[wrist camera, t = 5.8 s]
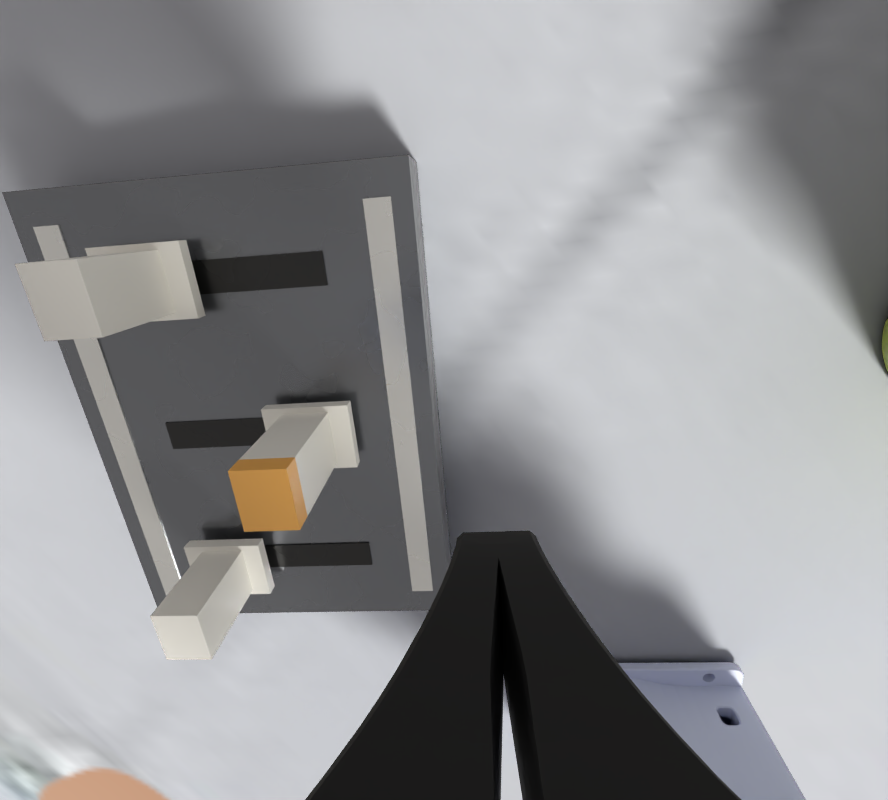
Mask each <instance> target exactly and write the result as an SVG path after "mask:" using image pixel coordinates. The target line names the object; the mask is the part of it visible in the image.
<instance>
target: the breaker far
mask: <svg viewBox="0 0 888 800" xmlns="http://www.w3.org/2000/svg"><path fill="white" fill-rule="evenodd" d="M184 550H185V553H186V556H187V559H188V562H189V565H190V567H189V569H188V570H187V571H186V572H185V574H184V575H183V576H182V577H181V579H180V580H179V581H178V582H177V584H176V585H175V586H174V587H173V588H172V590H171V591H170V592H169V593H168V595H167V596H166V597H165V598H164V600H163V601H162V602H161V603H160V605H159V606H158V607H157V608H156V610H155V611H154V612H153V613H152V615H151V616H150V617H151V620H152V622H153V625H154V627H155V630H156V633H157V635H158V638H159V640H160V643H161V646H162V648H163V651H164V653H165V656H166V659H167V660H202V659H213V657H214V655H215V653H216V652H217V650H218V648H219V647H220V645H221V643H222V642H223V640H224V638H225V636H226V635H227V633H228V631H229V630H230V628H231V626H232V624H233V623H234V621H235V619H236V618H237V616H238V614H239V613H240V611H241V609H242V607H243V606H244V604H245V602H246V601H247V599H248V597H249V595H250V594H271V592H272V590H273V588H274V587H275V585H274V581H273V577H272V573H271V569H270V565H269V562H268V558H267V554H266V550H265V546H264V542H263V538H261V539H226V540H191V541H189V542H188V543H187V544H186V545H185V547H184Z"/></svg>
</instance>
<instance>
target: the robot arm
mask: <svg viewBox="0 0 888 800" xmlns="http://www.w3.org/2000/svg"><path fill="white" fill-rule="evenodd" d="M503 674H504V680H505V687H506V694H507V700H508V707H509V713H510V720H511V726H512V733H513V739H514V746H515V752H516V759H517V765H518V772H519V778H520V785H521V791H522V798H523V800H806V799H805V797H804V796H803V794H802V792H801V790H800V789H799V787H798V785H797V783H796V782H795V780H794V778H793V776H792V774H791V773H790V771H789V769H788V767H787V766H786V764H785V762H784V760H783V759H782V757H781V755H780V753H779V752H778V750H777V748H776V746H775V745H774V743H773V741H772V739H771V738H770V736H769V734H768V732H767V731H766V729H765V727H764V725H763V723H762V722H761V720H760V718H759V716H758V715H757V713H756V711H755V709H754V708H753V706H752V704H751V702H750V701H749V699H748V697H747V695H746V694H745V692H744V690H743V688H742V682H743V678H744V674H743V672H742V670H741V668H740V667H739V666H738V665H737V664H735V663H731V662H691V663H617V661H616V660H615V659H614V657H613V656H612V655H611V653H610V652H609V651H608V650H607V648H606V647H605V646H604V644H603V643H602V642H601V640H600V639H599V638H598V636H597V635H596V634H595V632H594V631H593V630H592V628H591V627H590V625H589V624H588V622H587V621H586V620H585V618H584V617H583V615H582V614H581V612H580V611H579V609H578V608H577V606H576V605H575V604H574V602H573V601H572V599H571V598H570V596H569V595H568V593H567V592H566V590H565V589H564V587H563V585H562V584H561V582H560V581H559V579H558V577H557V576H556V574H555V572H554V571H553V569H552V567H551V566H550V564H549V562H548V560H547V558H546V557H545V555H544V553H543V551H542V549H541V547H540V545H539V543H538V541H537V538H536V536H535V535H534V534H533V533H532V532H530V531H505V532H471V533H462V534H461V535H460V536H459V537H458V538H457V543H456V547H455V550H454V553H453V556H452V559H451V562H450V565H449V567H448V570H447V572H446V575H445V577H444V579H443V582H442V584H441V586H440V589H439V591H438V593H437V595H436V597H435V599H434V601H433V603H432V605H431V607H430V610H429V612H428V614H427V616H426V618H425V620H424V622H423V624H422V626H421V628H420V629H419V631H418V633H417V635H416V636H415V638H414V640H413V642H412V644H411V645H410V647H409V649H408V651H407V652H406V654H405V656H404V658H403V660H402V661H401V663H400V665H399V667H398V668H397V670H396V672H395V673H394V675H393V677H392V678H391V680H390V681H389V683H388V685H387V686H386V688H385V689H384V691H383V692H382V694H381V696H380V697H379V699H378V700H377V702H376V703H375V705H374V706H373V708H372V709H371V711H370V712H369V714H368V715H367V717H366V718H365V720H364V721H363V723H362V724H361V726H360V727H359V728H358V730H357V731H356V733H355V734H354V735H353V737H352V738H351V739H350V741H349V742H348V744H347V745H346V746H345V748H344V749H343V750H342V752H341V753H340V754H339V756H338V757H337V759H336V760H335V761H334V763H333V764H332V765H331V767H330V768H329V770H328V771H327V772H326V774H325V775H324V776H323V778H322V779H321V780H320V781H319V783H318V784H317V785H316V787H315V788H314V789H313V790H312V792H311V793H310V794H309V796H308V797H307V798H306V799H305V800H500V799H501V758H502V717H503Z"/></svg>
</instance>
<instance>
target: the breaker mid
mask: <svg viewBox="0 0 888 800" xmlns="http://www.w3.org/2000/svg"><path fill="white" fill-rule="evenodd" d="M261 413H262V417H263V421H264V426H265V430H266V432H265V433H264V434H263V435H262V436H261V437H260V438H259V439H258V440H257V441H256V442H255V443H254V444H253V445H252V446H251V447H250V448H249V450H248V451H247V452H246V453H245V454H244V455H243V456H242V457H241V458H240V459H239V460H238V461H237V462H236V463H235V464H234V465H233V466H232V467H231V468H230V469H229V470H228V474H229V478H230V481H231V485H232V489H233V492H234V496H235V500H236V503H237V507H238V511H239V514H240V518H241V522H242V526H243V529H244V532H253V531H287V530H300V529H301V527H302V526H303V524H304V522H305V520H306V518H307V516H308V515H309V513H310V511H311V509H312V507H313V505H314V504H315V502H316V500H317V498H318V496H319V495H320V493H321V491H322V489H323V487H324V485H325V484H326V482H327V480H328V478H329V476H330V474H331V473H332V471H333V469H334V468H352V467H358V464H359V462H360V459H359V453H358V446H357V440H356V434H355V427H354V421H353V415H352V408H351V402H350V401H334V402H314V403H295V404H276V405H265V406H264V407H263V408H262V409H261Z"/></svg>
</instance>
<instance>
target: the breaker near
mask: <svg viewBox="0 0 888 800" xmlns="http://www.w3.org/2000/svg"><path fill="white" fill-rule="evenodd" d="M85 250H86V253H87V256H83V257H74V258H65V259H56V260H46V261H37V262H28V263H19V264H15V266H16V269H17V271H18V274H19V276H20V279H21V282H22V284H23V287H24V289H25V292H26V295H27V297H28V300H29V302H30V305H31V308H32V310H33V313H34V315H35V318H36V321H37V323H38V326H39V328H40V331H41V334H42V336H43V339H44V341H55V340H71V339H86V338H101V337H106V336H109V335H112V334H115V333H118V332H121V331H124V330H127V329H130V328H133V327H136V326H139V325H142V324H145V323H148V322H153V321H168V320H182V319H197V318H201V317H204V316H206V315H205V311H204V308H203V304H202V300H201V296H200V292H199V288H198V284H197V280H196V276H195V272H194V269H193V265H192V261H191V257H190V253H189V249H188V245H187V241H186V240H179V241H166V242H154V243H142V244H129V245H117V246H105V247H93V248H85Z"/></svg>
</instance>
